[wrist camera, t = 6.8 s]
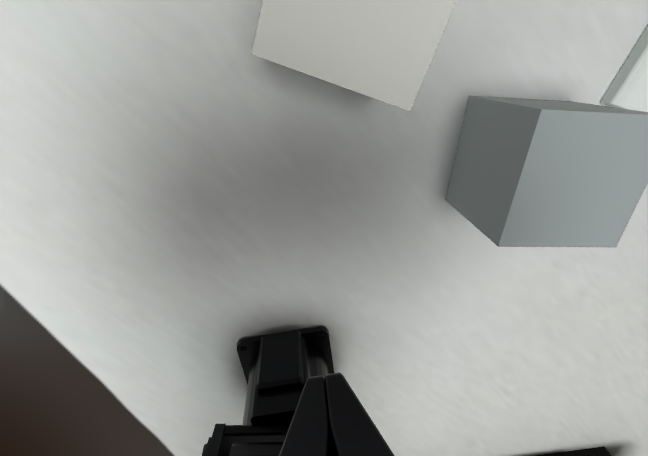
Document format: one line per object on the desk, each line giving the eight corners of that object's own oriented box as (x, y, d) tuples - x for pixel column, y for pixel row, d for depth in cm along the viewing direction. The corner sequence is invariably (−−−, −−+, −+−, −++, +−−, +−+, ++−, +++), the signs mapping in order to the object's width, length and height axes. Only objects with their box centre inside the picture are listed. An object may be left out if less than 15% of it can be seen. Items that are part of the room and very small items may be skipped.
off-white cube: (374, 96, 18) (410, 112, 13) (263, 56, 17) (250, 55, 11) (423, -36, 16) (492, -86, 10) (298, -95, 14) (302, -187, 9)
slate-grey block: (535, 201, 22) (616, 247, 16) (444, 199, 21) (498, 246, 16) (569, 101, 19) (679, 116, 14) (468, 95, 18) (541, 109, 13)
